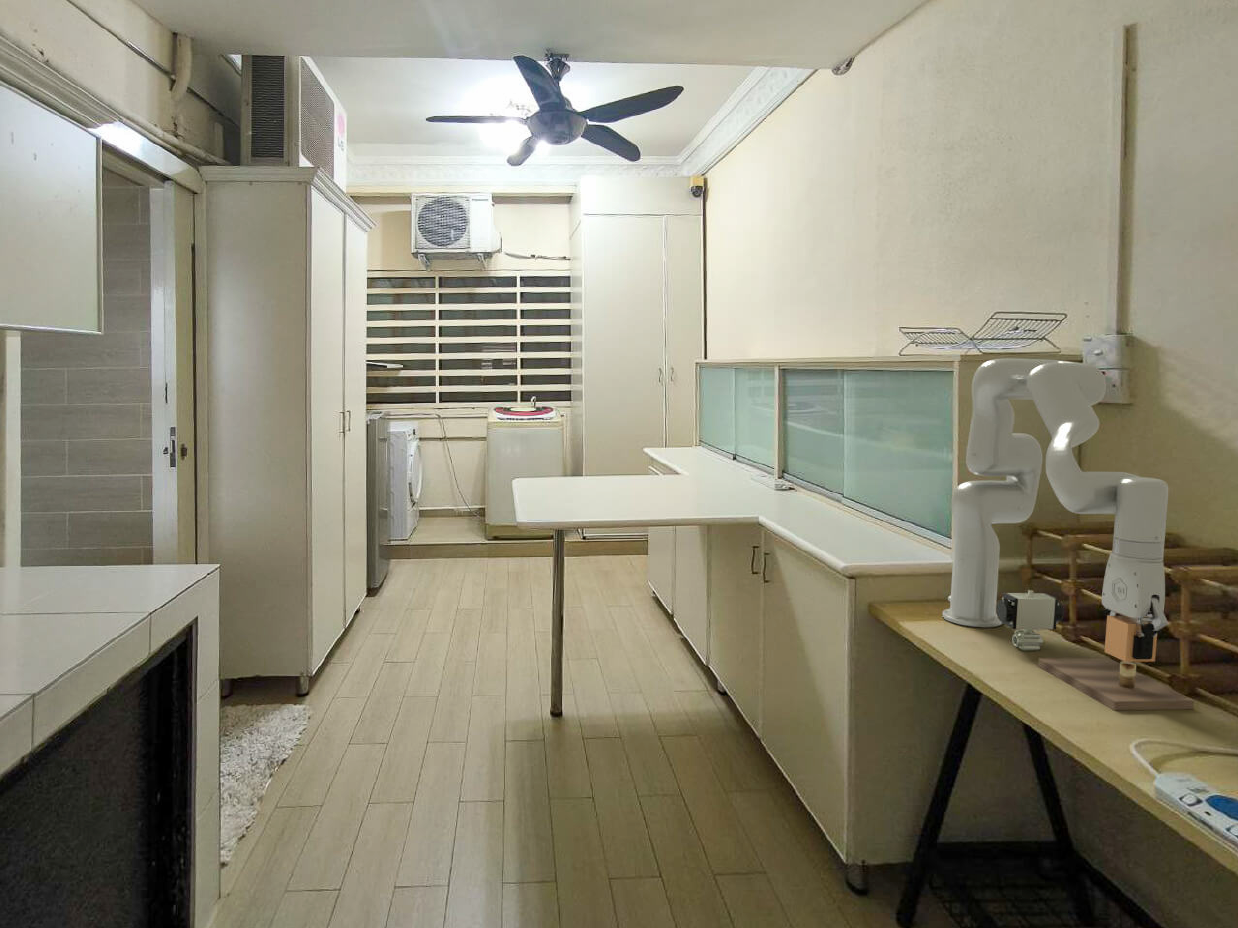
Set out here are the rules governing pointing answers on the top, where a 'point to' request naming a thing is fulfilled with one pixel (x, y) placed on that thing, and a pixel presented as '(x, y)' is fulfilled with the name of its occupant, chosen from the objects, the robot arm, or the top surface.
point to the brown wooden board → (1115, 684)
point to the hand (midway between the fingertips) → (1129, 652)
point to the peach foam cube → (1123, 638)
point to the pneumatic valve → (1029, 616)
